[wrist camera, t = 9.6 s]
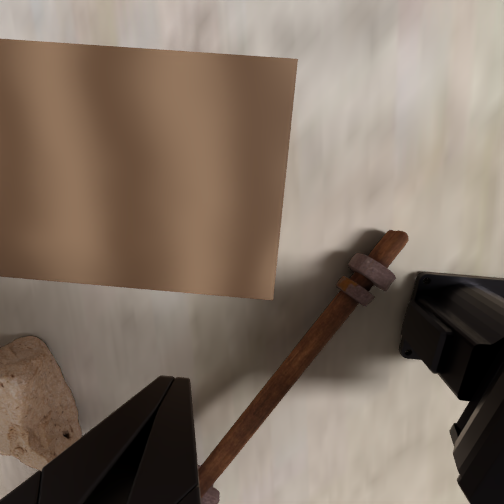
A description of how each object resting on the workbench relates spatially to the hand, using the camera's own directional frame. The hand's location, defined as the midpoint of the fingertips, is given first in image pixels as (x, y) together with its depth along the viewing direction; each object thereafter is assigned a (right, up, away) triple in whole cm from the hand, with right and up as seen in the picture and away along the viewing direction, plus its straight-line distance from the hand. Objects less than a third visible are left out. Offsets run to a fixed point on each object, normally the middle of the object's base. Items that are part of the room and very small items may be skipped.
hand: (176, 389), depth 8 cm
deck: (-4, +9, +11) cm, 14 cm away
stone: (-15, -7, +16) cm, 23 cm away
